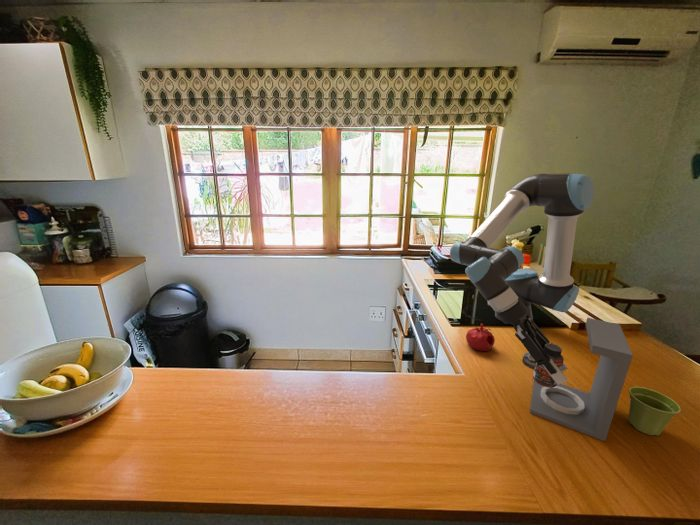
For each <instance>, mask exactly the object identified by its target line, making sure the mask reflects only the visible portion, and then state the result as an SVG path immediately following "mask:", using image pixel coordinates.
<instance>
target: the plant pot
mask: <svg viewBox="0 0 700 525" xmlns="http://www.w3.org/2000/svg"><path fill="white" fill-rule="evenodd" d="M628 394H629V398H630V401H629V402H630V404H629V412H628V423H629V424H631V425H632V426H633V427H634V429H635V430H637V431H638V432H641V433H643V434H646V435H648V436H658V437H659V436H660V435H661V434H662V432H663V431H664V430H665V428H666V426H667V425H668V424H669V423H670V421H671V420H672V418H673V417H675V416H676V415H677V414H679V413H680V412H681V411H682V409H681V406H680V405H679V404H678V403H677V402H676V401H675V400H674V399H672V398H671V397H669V396H667V395H666V394H663V393H662V392H659V391H656V390H654V389H650V388H648V387H643V386H632V387H629V389H628Z"/></svg>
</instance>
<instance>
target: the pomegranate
mask: <svg viewBox="0 0 700 525" xmlns="http://www.w3.org/2000/svg"><path fill="white" fill-rule="evenodd" d="M473 327H474V328H471V329H468V331H467V333H466V335H465V339H466V342H467V344H468V346H470V348H471V349H473V350H476V351H479V352H487V351H490V350H492V348H493V347H494V345H495V342H496V339H495V336H494V335H493V333H492V332H491V331H492V329H491V328H486V327H484V324H483V323H480V327H477V326H475V325H473Z"/></svg>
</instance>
